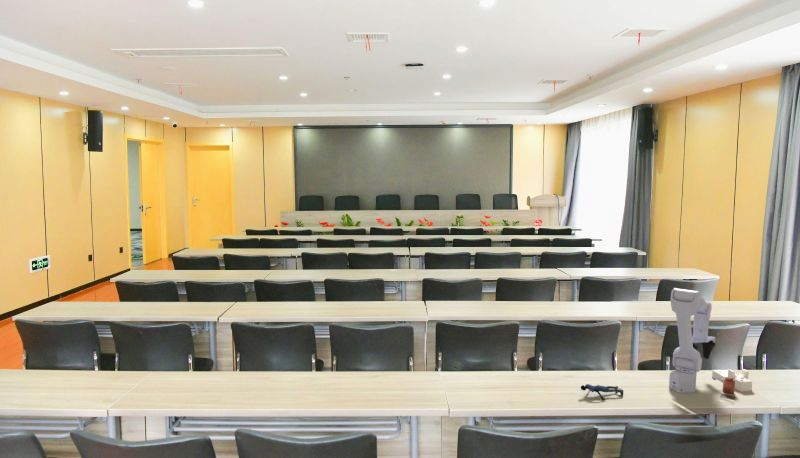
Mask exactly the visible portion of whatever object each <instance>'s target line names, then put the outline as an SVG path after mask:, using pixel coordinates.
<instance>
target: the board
mask: <svg viewBox="0 0 800 458" xmlns="http://www.w3.org/2000/svg"><path fill="white" fill-rule="evenodd" d="M735 399H736V391H734V394H732V395H731V394H726V393H723V388H722V389H721V393H720V397H719V401H718V402H719V403H725V404H730V405H735Z"/></svg>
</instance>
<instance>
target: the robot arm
mask: <svg viewBox="0 0 800 458" xmlns="http://www.w3.org/2000/svg"><path fill="white" fill-rule="evenodd" d="M669 300H670V307H671V311H672V312H673V313H674V314H675V317H676V324H677V333H678V334H677V335H678V343H679V346H678V347H676V348H675V349H674V350H673V353H672V362H671V363H672V366H673V367H674V370H672V371H671V372H670V373H669V382H668V388H669V389H671V390H673V391H674V392H677V393H679V394H682V393H683V394H684V393H695V392H696V386H697V373H698V372H700V371H701V369H702V366H703V358H704V359H706V360H709V359H710V356H711V353H712V351H713V349H714V348H715V347H716V343H715V342H716V337H715V336H709V325H710V324H709V322H710V321H709V320H710V318H711V313H712V308H713V307H712V303H711V302H710V301H707V300H705V298H703V297H702V293H701V291H700V290H691V289H685V288H677V287H673V289H671V293H670V299H669ZM692 316H693V325H692V319H691V317H692ZM700 343H701V345H702V356H701V352H700V351H698V350H697V349H698V347H699V346H698V345H696V344H700Z"/></svg>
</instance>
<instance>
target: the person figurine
mask: <svg viewBox="0 0 800 458" xmlns="http://www.w3.org/2000/svg"><path fill="white" fill-rule="evenodd" d="M580 389H581V391H586V390H588V391H589V392H592V393H594V392H595V393H597V394H598V395H599V396H600V398H601V399H600V400H601V401H605V398H604V396H603V395H602V394H601V393H600V392H602V393H614V392H615V393H620V396H621V397H623V396H624V389H623V387H619V386H611V385H607V386H605V385H600V384H597V385H592V384H589V383H588V384H585V385H583V384H582V385H581V386H580Z"/></svg>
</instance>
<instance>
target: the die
mask: <svg viewBox="0 0 800 458" xmlns="http://www.w3.org/2000/svg"><path fill="white" fill-rule="evenodd" d="M733 380H734V381H735V389H734V390H737V391H739V392H751V391H752V390H753V381H752V380H750V379H749V378H748V379H746V378H744V377H736V378H733Z"/></svg>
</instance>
